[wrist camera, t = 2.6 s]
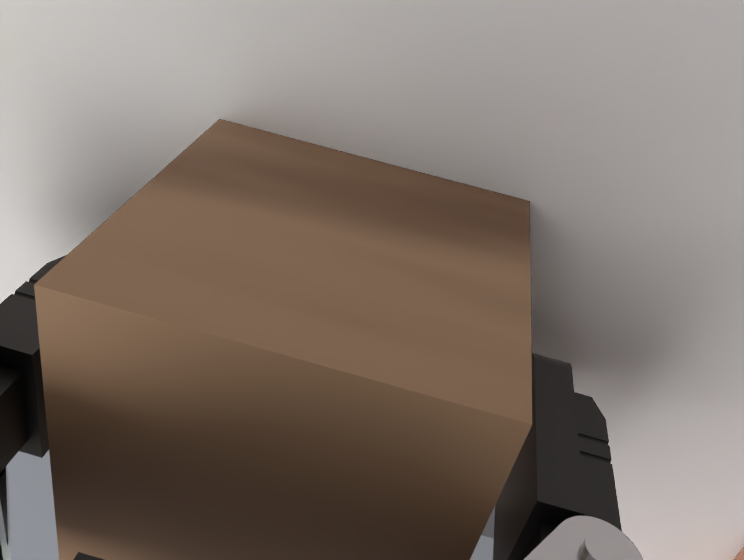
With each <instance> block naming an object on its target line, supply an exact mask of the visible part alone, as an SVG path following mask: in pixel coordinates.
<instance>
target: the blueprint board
mask: <svg viewBox="0 0 744 560" xmlns="http://www.w3.org/2000/svg"><path fill="white" fill-rule="evenodd" d="M7 469H8V483H9V512H10V540H11V560H59V552H58V542H57V531H56V520H55V509H54V498H53V487H52V476H51V465H50V454H49V450H48V451H47V453H46V454H45V455H44V456H43V458H41V457H37V456H34V455H31V454H27V453H24V452H20V451H18V453H17V454H16V455H15V456H14V457H13V459H12V460H11V461H10V462H9V463H8V464H7ZM494 521H495V506H494V509H493V511H492V513H491V515H490V517H489V519H488V522H487V524H486V526H485V528H484V530H483V532H482V535H481V537H480V539H479V541H478V543H477V545H476V548H475V550H474V552H473V554H472V556H471V558H470V560H493V545H494Z"/></svg>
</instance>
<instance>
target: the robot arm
mask: <svg viewBox="0 0 744 560" xmlns="http://www.w3.org/2000/svg"><path fill="white" fill-rule="evenodd" d="M66 256H67V255H66ZM66 256H63V257H61V258H59V259H56V260H54V261H51V262H49V263H47V264H46V265H45V266H43V267H42V268H41V269H40V270H39V271H38V272H37V273H35V274H34V275H33V276H32V277H31V278H30V280H29V282H27V281H26V282H25V283H24V284H23V285H22V286H20V287H19V288H18V289H17V290H16V291H15V294H14V295H13V294H11V295H10V296H9V297H8V298H7V299H5V300H4V301H3V302H2V303H1V304H0V560H11V540H10V512H9V483H8V469H7V464H8V463H9V462H10V461H11V460H12V459H13V457H14V456H15V455H16V454H17V453H18V451H20V452H24V453H27V454H31V455H34V456H37V457H41V458H43V456H44V455H45V454H46V453H47V451H48V450H49V443H48V432H47V421H46V410H45V399H44V388H43V377H42V367H41V356H40V345H39V334H38V323H37V312H36V301H35V290H34V284H35V283H36V282H38V281H39V280H40V279H41V278H42V277H43V276H44V275H45V274H46V273H48V272H49V271H50V270H51V269H52V268H53V267H54V266H55V265H57V264H58V263H59V262H60V261H61V260H62V259H63V258H64V257H66ZM531 358H532V426H531V428H530V431H529V433H528V435H527V437H526V439H525V441H524V444H523V446H522V448H521V450H520V452H519V454H518V457H517V459H516V461H515V463H514V465H513V467H512V470H511V472H510V474H509V476H508V478H507V480H506V483H505V485H504V487H503V489H502V491H501V493H500V496H499V498H498V500H497V502H496V504H495V521H494V545H493V560H643V558H642V556H641V554H640V552H639V550H638V549H637V547H636V546H635V545H634V543H633V542H632V541H631V540H630V539H629V538H628V537H627V536H626V535H625V534H624V533H623V532H622V530H621V523H620V516H619V509H618V503H617V496H616V489H615V482H614V475H613V468H612V464H610V462H611V454H610V447H609V446H608V442H609V440H608V433H607V426H606V419H605V418H604V416H603V415H602V413H601V411H600V410H599V408H598V406H597V405H596V403H595V402H594V400H593V398H592V397H589V396H586V395H582V394H578V393H575V392H574V386H573V376H572V367H571V364H570V363H566V362H563V361H559V360H555V359H552V358H548V357H544V356H541V355H537V354H533V353H531ZM73 560H104V559H101V558H97V557H94V556H91V555H87V554H84V553H81V552H78V553H77V555H76V556H75V558H74V559H73Z"/></svg>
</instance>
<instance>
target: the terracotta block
mask: <svg viewBox="0 0 744 560" xmlns="http://www.w3.org/2000/svg"><path fill="white" fill-rule="evenodd" d="M733 560H744V547H743V548H742V550H741V551H740V552H739V553H738V555H737V556H736V557H735V558H734V559H733Z"/></svg>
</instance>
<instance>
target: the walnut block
mask: <svg viewBox="0 0 744 560" xmlns="http://www.w3.org/2000/svg"><path fill="white" fill-rule="evenodd" d="M34 290H35V301H36V312H37V323H38V334H39V345H40V356H41V367H42V377H43V388H44V399H45V410H46V421H47V432H48V443H49V454H50V465H51V476H52V487H53V498H54V509H55V520H56V531H57V542H58V552H59V560H73V559H74V558H75V556H76V555H77V553H78V552H81V553H84V554H87V555H91V556H94V557H97V558H101V559H104V560H470V558H471V556H472V554H473V552H474V550H475V548H476V545H477V543H478V541H479V539H480V537H481V535H482V532H483V530H484V528H485V526H486V524H487V522H488V519H489V517H490V515H491V513H492V511H493V509H494V506H495V504H496V502H497V500H498V498H499V496H500V493H501V491H502V489H503V487H504V485H505V483H506V480H507V478H508V476H509V474H510V472H511V470H512V467H513V465H514V463H515V461H516V459H517V457H518V454H519V452H520V450H521V448H522V446H523V444H524V441H525V439H526V437H527V435H528V433H529V431H530V428H531V426H532V358H531V267H530V201H527V200H523V199H519V198H515V197H512V196H508V195H504V194H500V193H497V192H493V191H489V190H485V189H481V188H478V187H474V186H470V185H466V184H463V183H459V182H455V181H451V180H447V179H444V178H440V177H436V176H432V175H429V174H425V173H421V172H417V171H414V170H410V169H406V168H402V167H398V166H395V165H391V164H387V163H383V162H380V161H376V160H372V159H368V158H364V157H361V156H357V155H353V154H349V153H346V152H342V151H338V150H334V149H330V148H327V147H323V146H319V145H315V144H312V143H308V142H304V141H300V140H296V139H293V138H289V137H285V136H281V135H278V134H274V133H270V132H266V131H262V130H259V129H255V128H251V127H247V126H244V125H240V124H236V123H232V122H229V121H225V120H221V119H219V120H218V121H217V122H216V123H215V124H213V125H212V126H211V127H210V128H209V129H208V130H207V131H206V132H204V133H203V134H202V135H201V136H200V137H199V138H198V139H197V140H196V141H194V142H193V143H192V144H191V145H190V146H189V147H188V148H187V149H185V150H184V151H183V152H182V153H181V154H180V155H179V156H178V157H176V158H175V159H174V160H173V161H172V162H171V163H170V164H169V165H167V166H166V167H165V168H164V169H163V170H162V171H161V172H160V173H159V174H157V175H156V176H155V177H154V178H153V179H152V180H151V181H150V182H148V183H147V184H146V185H145V186H144V187H143V188H142V189H141V190H139V191H138V192H137V193H136V194H135V195H134V196H133V197H132V198H131V199H129V200H128V201H127V202H126V203H125V204H124V205H123V206H122V207H120V208H119V209H118V210H117V211H116V212H115V213H114V214H113V215H111V216H110V217H109V218H108V219H107V220H106V221H105V222H104V223H103V224H101V225H100V226H99V227H98V228H97V229H96V230H95V231H94V232H92V233H91V234H90V235H89V236H88V237H87V238H86V239H85V240H83V241H82V242H81V243H80V244H79V245H78V246H77V247H76V248H75V249H73V250H72V251H71V252H70V253H69V254H68V255H67V256H66V257H64V258H63V259H62V260H61V261H60V262H59V263H58V264H57V265H55V266H54V267H53V268H52V269H51V270H50V271H49V272H48V273H46V274H45V275H44V276H43V277H42V278H41V279H40V280H39V281H38V282H36V283H35V284H34Z"/></svg>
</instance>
